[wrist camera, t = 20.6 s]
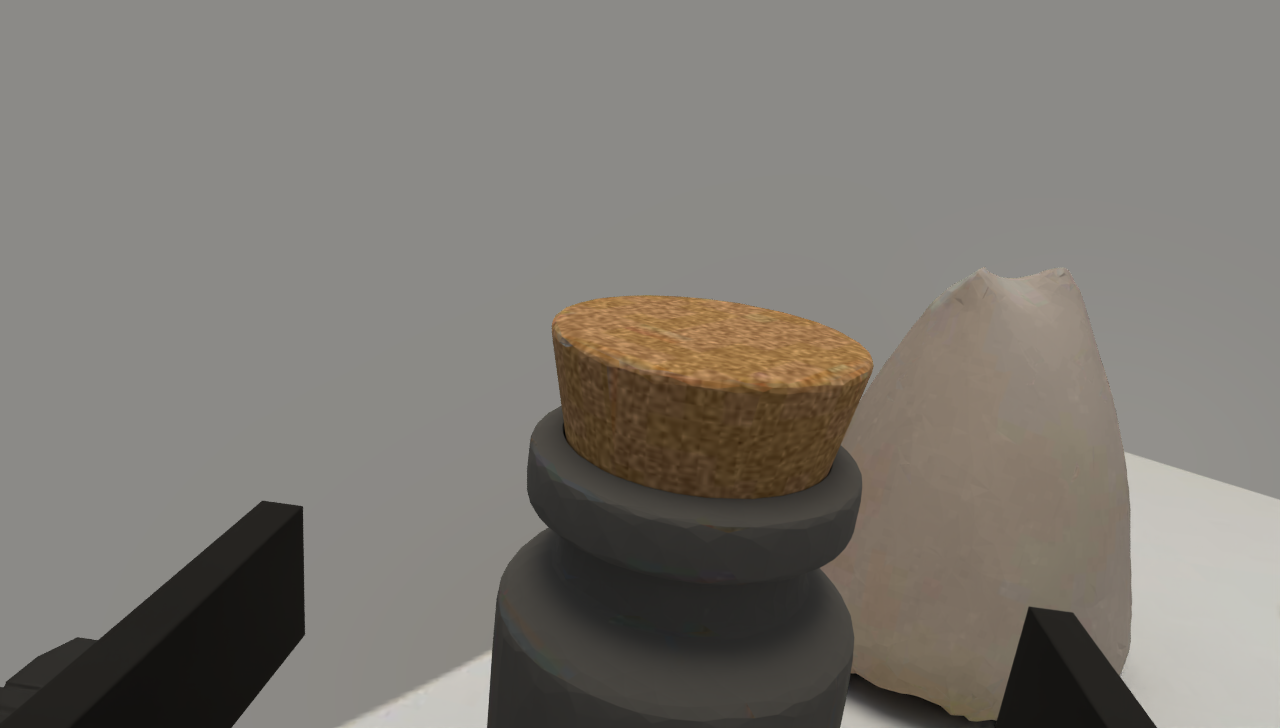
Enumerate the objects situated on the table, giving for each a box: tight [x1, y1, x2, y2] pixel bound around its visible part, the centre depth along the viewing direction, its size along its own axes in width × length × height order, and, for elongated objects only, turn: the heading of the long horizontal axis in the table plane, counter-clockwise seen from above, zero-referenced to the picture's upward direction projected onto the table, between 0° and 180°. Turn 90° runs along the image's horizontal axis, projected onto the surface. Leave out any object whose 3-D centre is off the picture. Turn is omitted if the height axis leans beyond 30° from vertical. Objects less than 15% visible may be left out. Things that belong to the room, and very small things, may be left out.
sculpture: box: [820, 267, 1132, 721], centre depth 31 cm, size 13×12×15 cm
